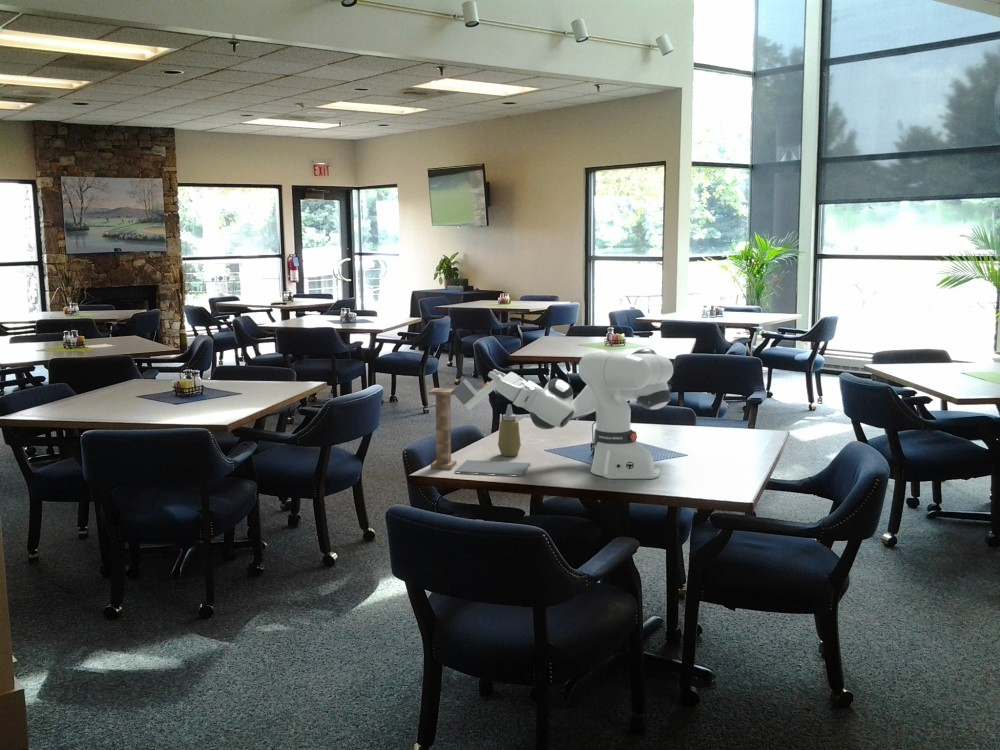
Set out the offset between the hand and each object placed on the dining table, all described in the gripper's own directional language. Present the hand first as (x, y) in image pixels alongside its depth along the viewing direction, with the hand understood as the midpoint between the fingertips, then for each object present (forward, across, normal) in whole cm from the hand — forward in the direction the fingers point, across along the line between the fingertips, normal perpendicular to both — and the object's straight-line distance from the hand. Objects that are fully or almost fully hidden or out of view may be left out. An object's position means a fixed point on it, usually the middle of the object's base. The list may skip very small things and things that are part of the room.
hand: (490, 372), depth 304 cm
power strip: (-3, 0, +7) cm, 8 cm away
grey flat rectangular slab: (-17, 0, +28) cm, 32 cm away
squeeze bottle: (-18, -22, +27) cm, 39 cm away
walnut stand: (-2, 0, +36) cm, 36 cm away
